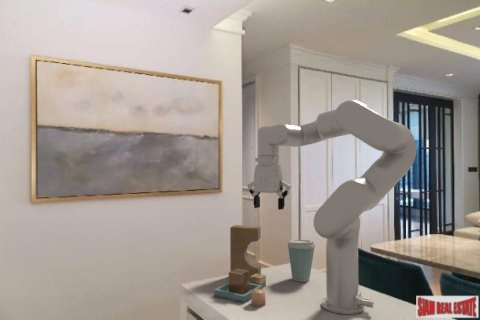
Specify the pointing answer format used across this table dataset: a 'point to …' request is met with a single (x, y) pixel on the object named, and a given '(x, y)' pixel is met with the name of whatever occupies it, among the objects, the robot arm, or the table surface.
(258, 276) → the oak cube
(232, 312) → the table surface
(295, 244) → the disposable coffee cup
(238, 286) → the walnut block
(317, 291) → the table surface
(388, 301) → the table surface
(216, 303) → the table surface
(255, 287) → the tray
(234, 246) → the decorative block
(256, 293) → the peach round blob
